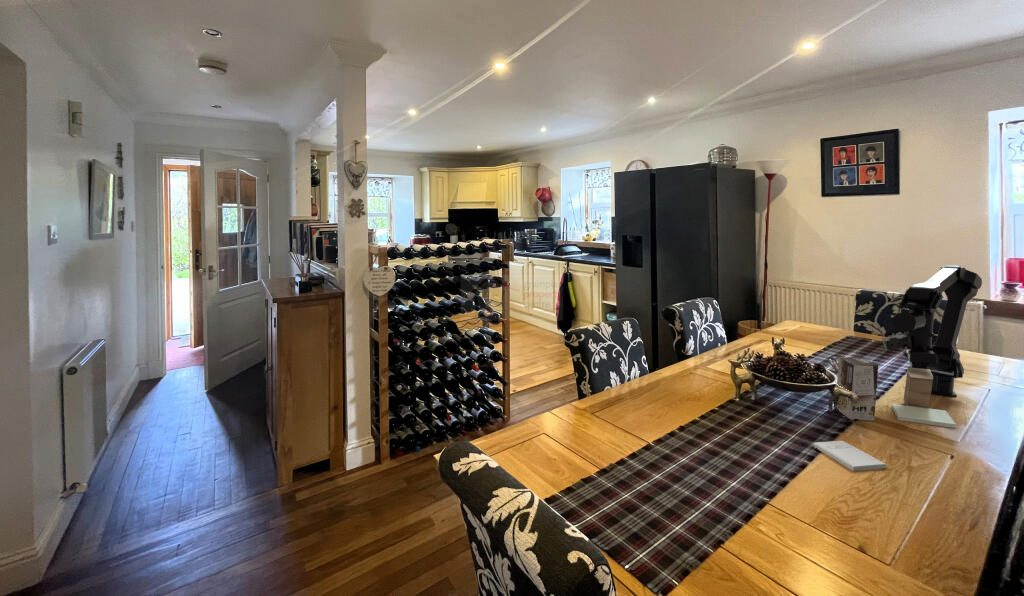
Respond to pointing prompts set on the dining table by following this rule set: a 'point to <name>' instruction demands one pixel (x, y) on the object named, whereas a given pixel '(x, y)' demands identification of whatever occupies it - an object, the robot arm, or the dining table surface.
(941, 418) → the mat
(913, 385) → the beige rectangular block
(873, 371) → the coffee box
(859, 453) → the external hard drive
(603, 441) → the dining table surface
